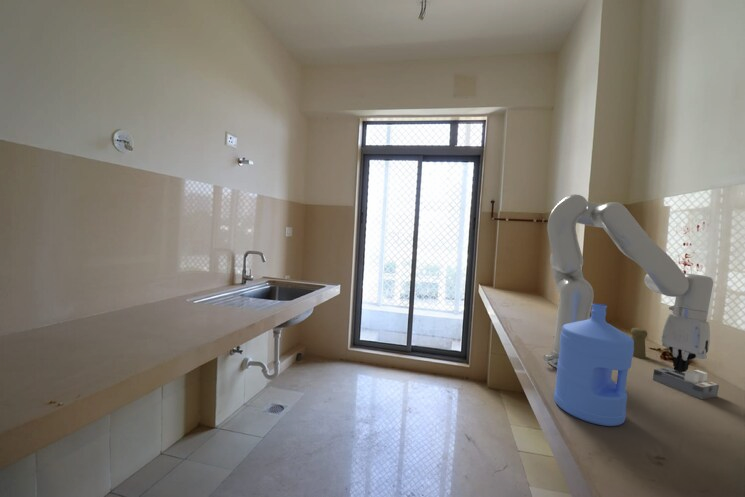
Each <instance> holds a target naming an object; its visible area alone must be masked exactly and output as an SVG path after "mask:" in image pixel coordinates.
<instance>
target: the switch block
mask: <svg viewBox="0 0 745 497" xmlns="http://www.w3.org/2000/svg"><path fill="white" fill-rule="evenodd" d="M684 378H685V372H679V371H676V370H674V368H672V367H664V368H662V367H661V368H655V369H653V376H652V380H654V381H655V382H657V383H660V384H662V385H666V386H668V387H670V388H673V389H675V390H678V391H680V392H682V393H685V394H686V395H687V394H688V395H689V396H692V397H695V398H697V399H700V400H704V399H711V398H716V397H718V393H719V386H720V385H719V384H717V383H715V382H712V381H708V380H707V382H704V383H702V382H700V381H698V383H697V384H693V383H690V382H687V381H685V380H684Z"/></svg>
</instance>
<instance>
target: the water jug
mask: <svg viewBox="0 0 745 497" xmlns="http://www.w3.org/2000/svg"><path fill="white" fill-rule="evenodd" d="M607 308H608V306H607V305H606V304H601V303H592V307H591V311H590V314H591V316H590V317H589V319H588V320H583V321H578V322H573V323H568V324H565V325H563V327H562V331H561V336H560V341H561V342H560V351H559V360H558V364H557V368H556V371H557V372H556V379H555V389H554V393H553V399H554V401H555V403H556V405H558V406H559V408H560V409H562V410H563V411H564V412H566V413H567V414H569V415H570V416H572V417H575V418H577V419H580V420H581V421H584V422H587V423H591V424H594V425H599V426H604V427H605V426H606V427H615V426H620V425H622V424H623V423H625V421H626V416H627V402H628V393H627V392H628V391H626V389H627V388H626V386H627V380H628V379H627V378H628V371H629V370H630V369H631V368H632V363H633V362H632V361H633V353H634V340H633V339H632V338H631V337H632V336H630V335H629V334H626V333H625V332H623V331H621V330H620V329H618V328H617V327H615V326H613V325H612V324H610V323H608V322H607V321H606V316H607ZM613 371H617V379H616V382H614V380H613V379H612V374H613Z"/></svg>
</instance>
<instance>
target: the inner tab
mask: <svg viewBox="0 0 745 497" xmlns="http://www.w3.org/2000/svg"><path fill="white" fill-rule="evenodd" d="M684 373H685V378H684V380H685V381H687V382H690V383H693V384H697V383H698V380H699V374H696V373H694V371H690V370H686V371H685V372H684Z"/></svg>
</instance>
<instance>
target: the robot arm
mask: <svg viewBox="0 0 745 497" xmlns="http://www.w3.org/2000/svg"><path fill="white" fill-rule="evenodd" d="M577 224H580V225H584V226H588V227H589V226H590V227H595V228H602V229H603V230H604V231H605V233H606V234H607V235H608V236H609V237H610V239H611V240H612V242H613V243H614V245H616V247H617V248H618V250H619V251H620V252H621V253H622V254H623V255H624V256H626V257H627V258H628V259H631V260H632V261H633V262H635V263H636V264H637V265H638V266H639V267H640V268H642V270H643V271H644V272H645V273H646V274H645V276H644V279H643V281H644V285H645V286H646V287H647V288H648V289H649V290H651V291H653V292H655V293H657V294H661V295H663V296H666V297H670V298H672V297H673V298H674V297H675V300H674V304H673V305H669V306H668V309H669V311H671V313H669V314H668V316H667V318H666V321H665V323H664V326H663V328H662V329H663V330H662V333H661V339H660V341H661V345H662V347H664V348H665V349H667V350H669V351H670V352H671V354H672V357H673V358H674V359H673V365H672V366H673V369H674V370H676V371H679V372H683V373H685V371H689V364H690V361H692V360H694V359H699V360H706V359H707V353H708V351H709V350H710V349H709V348H710V341H711V329H710V322H709V321H707V319H708V314H709V310H710V309H709V308H710V303H711V297H712V292H713V287H714V280H713V278H712V277H710V276H708V275H703V274H702V275H701V274H694V273H684V271H683V270H682V269H681V268H680V267H679V266H678V264H677V263H676V262H675V261H674V260H673V259H672V257H671V256H670V255H669V254H668V253H667V252H666V251H664V250H663V249H662V248H661V246H659V245H658V243H656V242H655V241H654V240H653V239H652V238H651V237H649V235H648V234H647V232H646V231H645V230H644V229H643V228H642V227H641V225H640V224H639V222H638V221H637V220H636V219H635V217H634V216H633V215H632V214H631V212H630V211H629V210H628V208H626V206H625V205H624V204H622V203H620V202H617V201H610V202H604V203H599V202H598V203H597V202H592V201H588V200H587V199H586V197H585V196H583V195H581V194H570V195H567V196H565V197H564V198H563V199H561V201H559V202H558V203H557V204H556V205H555V206H554V208H553V209H552V210H551V212H550V214H549V217H548V220H547V225H546V226H547V234H548V240H549V246H550V250H551V254H550V255H549V256H550V257H549V261H550V262H549V263H550V267H551V272H552V275H553V280H554V284H555V287H556V289H557V292H558V293H559V301H558V307H557V312H556V314H557V315H556V322H555V332H554V341H553V350H551V354H545V355H543V356H542V358H543V360H544V362H547V363H548V364H549V365H551V367H554V368H556V369H557V364H558V360H559V351H560V342H561V341H560V336H561V331H562V327H563V325H565V324H568V323H573V322H578V321H583V320H588V319H590V318H591V316H590V314H591V310H592V307H593V306H592V304H594V303H593V301H594V288H593V286H592V285H591V283H590V282H588V280H586V279H585V278H584V274H583V270H582V267H583V266H584V257H583V254H582V252H581V251H582V250H581V247H580V243H579V240H578V235H577Z"/></svg>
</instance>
